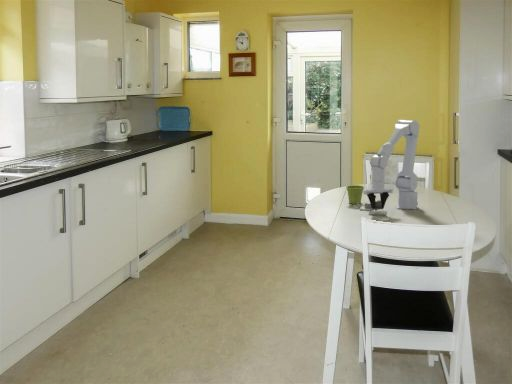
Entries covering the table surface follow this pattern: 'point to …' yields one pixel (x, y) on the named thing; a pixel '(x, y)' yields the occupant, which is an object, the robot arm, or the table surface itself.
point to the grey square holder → (366, 206)
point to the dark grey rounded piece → (378, 204)
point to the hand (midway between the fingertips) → (377, 208)
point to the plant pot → (355, 193)
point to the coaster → (377, 212)
